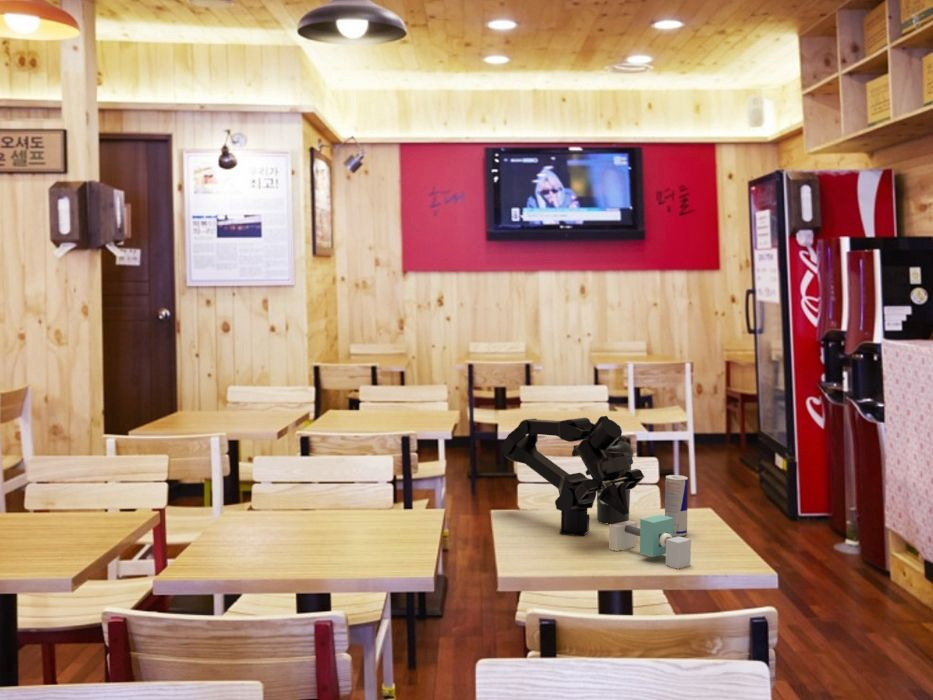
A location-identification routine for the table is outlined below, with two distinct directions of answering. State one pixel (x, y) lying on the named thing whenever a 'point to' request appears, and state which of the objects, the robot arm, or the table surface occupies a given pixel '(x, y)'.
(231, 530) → the table surface
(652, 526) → the teal block with hole
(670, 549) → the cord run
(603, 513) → the water bottle
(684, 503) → the beverage can
